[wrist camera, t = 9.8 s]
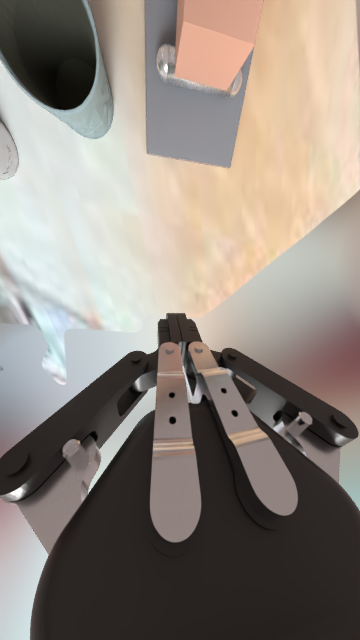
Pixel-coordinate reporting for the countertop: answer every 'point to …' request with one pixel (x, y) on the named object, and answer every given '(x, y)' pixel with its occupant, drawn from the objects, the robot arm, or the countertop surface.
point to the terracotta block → (214, 39)
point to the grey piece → (186, 103)
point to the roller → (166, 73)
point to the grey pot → (58, 61)
